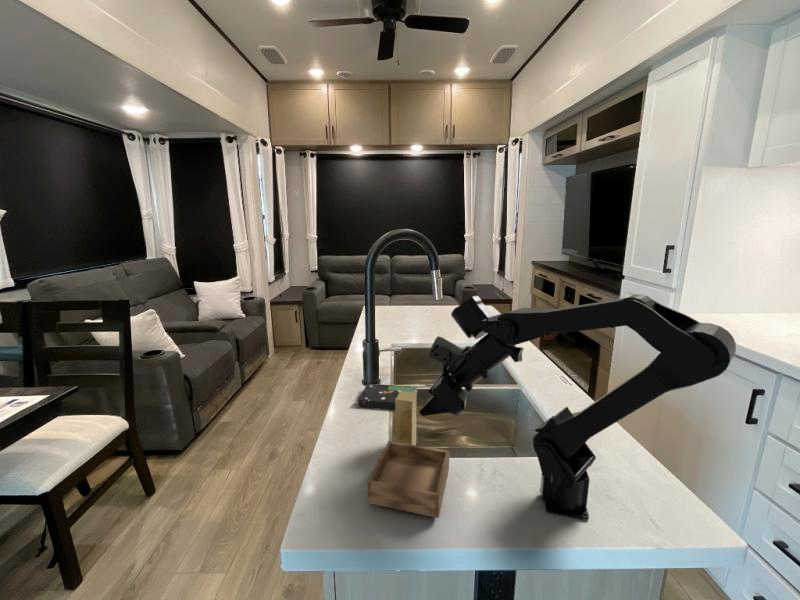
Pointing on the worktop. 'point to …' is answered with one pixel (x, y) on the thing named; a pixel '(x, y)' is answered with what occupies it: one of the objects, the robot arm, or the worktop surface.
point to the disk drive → (382, 395)
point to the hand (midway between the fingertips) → (425, 402)
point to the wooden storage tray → (409, 478)
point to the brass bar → (405, 418)
